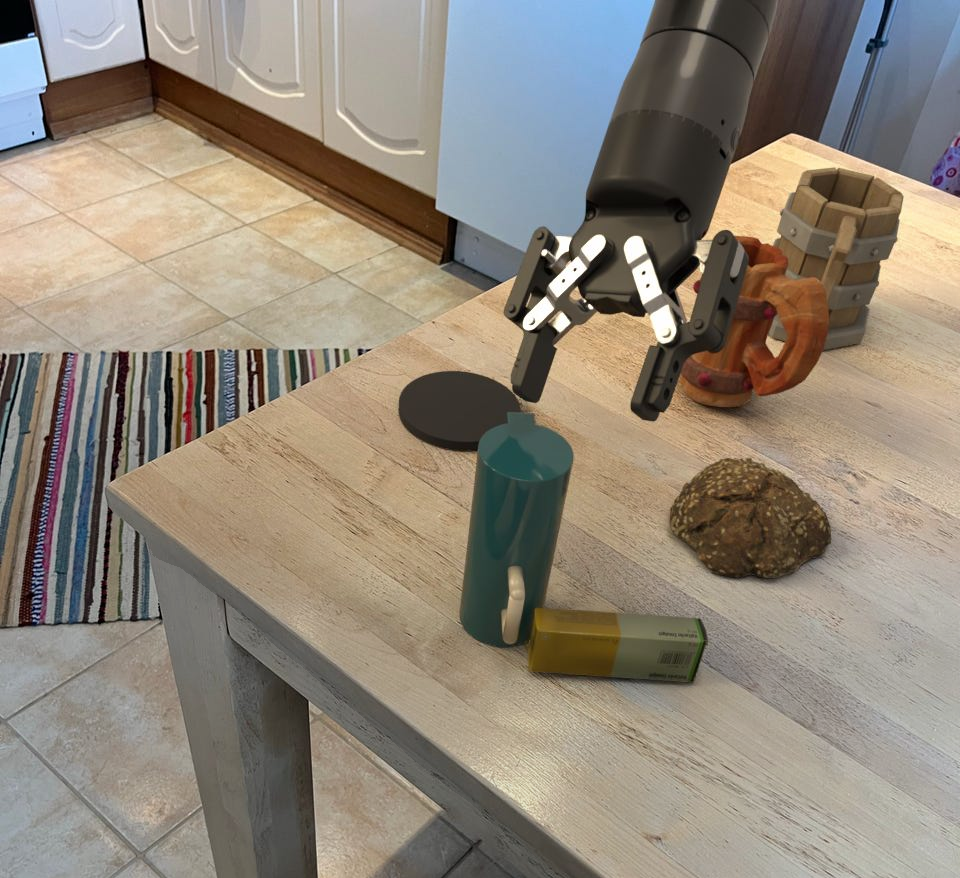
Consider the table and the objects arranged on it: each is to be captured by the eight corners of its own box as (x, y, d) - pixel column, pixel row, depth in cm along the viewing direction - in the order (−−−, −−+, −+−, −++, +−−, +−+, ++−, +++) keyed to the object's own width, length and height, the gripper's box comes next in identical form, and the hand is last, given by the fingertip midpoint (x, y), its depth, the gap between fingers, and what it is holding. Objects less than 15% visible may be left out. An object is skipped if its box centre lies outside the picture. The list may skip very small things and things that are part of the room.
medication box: (689, 658, 71) (703, 616, 68) (696, 684, 69) (711, 642, 66) (525, 647, 70) (533, 604, 67) (527, 673, 68) (536, 630, 65)
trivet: (383, 435, 86) (383, 426, 85) (416, 370, 93) (416, 361, 92) (506, 462, 85) (507, 452, 84) (529, 393, 92) (530, 384, 91)
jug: (457, 573, 75) (475, 407, 64) (535, 576, 75) (566, 412, 64) (461, 675, 68) (482, 507, 57) (547, 677, 68) (584, 512, 57)
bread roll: (729, 465, 87) (745, 418, 84) (845, 540, 82) (868, 493, 78) (635, 521, 81) (648, 472, 77) (754, 606, 75) (774, 559, 72)
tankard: (756, 279, 112) (800, 142, 101) (866, 307, 110) (923, 170, 99) (724, 363, 99) (770, 216, 88) (849, 397, 97) (912, 251, 86)
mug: (649, 374, 96) (687, 224, 85) (715, 360, 99) (760, 213, 88) (740, 461, 88) (795, 307, 77) (809, 442, 91) (871, 291, 80)
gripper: (540, 112, 59) (453, 369, 59) (760, 95, 50) (657, 397, 50) (599, 181, 65) (521, 414, 65) (805, 177, 56) (713, 446, 56)
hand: (580, 406), depth 58 cm, fingers open, 8 cm apart
